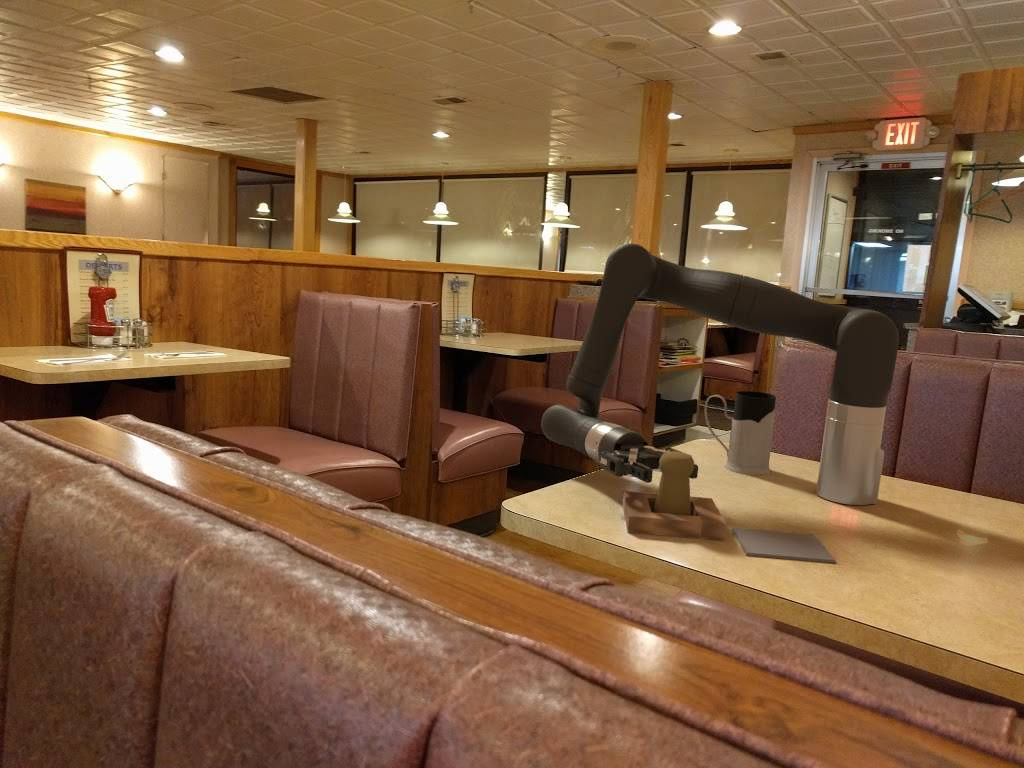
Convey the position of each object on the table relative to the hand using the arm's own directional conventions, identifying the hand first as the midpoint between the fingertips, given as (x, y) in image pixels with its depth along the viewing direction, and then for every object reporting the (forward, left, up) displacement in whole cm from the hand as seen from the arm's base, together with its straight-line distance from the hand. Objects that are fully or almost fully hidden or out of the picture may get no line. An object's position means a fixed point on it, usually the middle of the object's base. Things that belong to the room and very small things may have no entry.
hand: (673, 474), depth 115 cm
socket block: (0, 0, -8) cm, 8 cm away
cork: (0, 0, -8) cm, 8 cm away
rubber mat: (-15, +6, -8) cm, 18 cm away
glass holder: (-17, -37, -8) cm, 41 cm away
